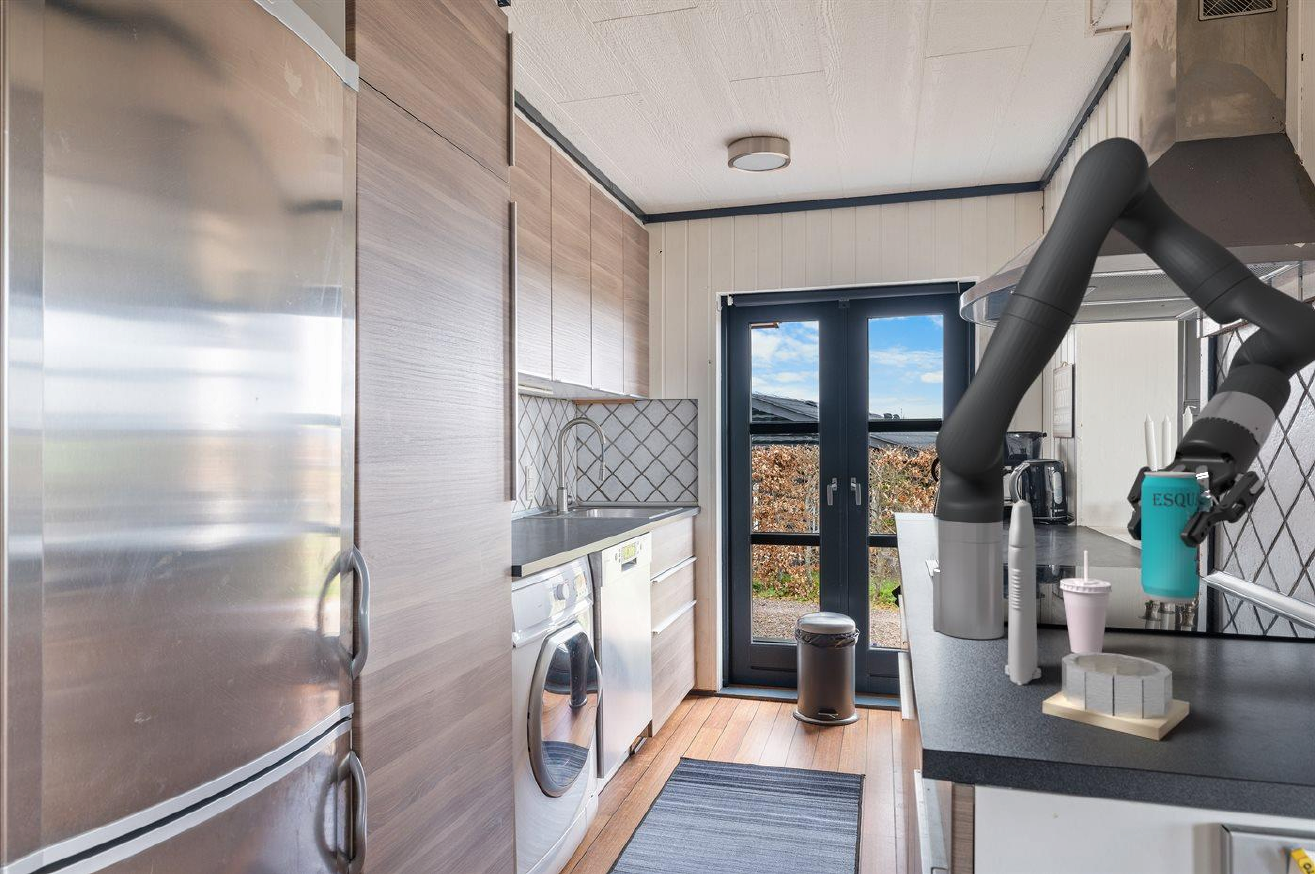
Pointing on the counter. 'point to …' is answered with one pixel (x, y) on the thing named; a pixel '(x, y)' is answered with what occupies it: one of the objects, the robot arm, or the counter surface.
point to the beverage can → (1168, 537)
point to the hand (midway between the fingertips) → (1160, 538)
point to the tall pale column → (1022, 597)
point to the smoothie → (1086, 610)
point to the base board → (1118, 718)
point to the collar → (1117, 685)
